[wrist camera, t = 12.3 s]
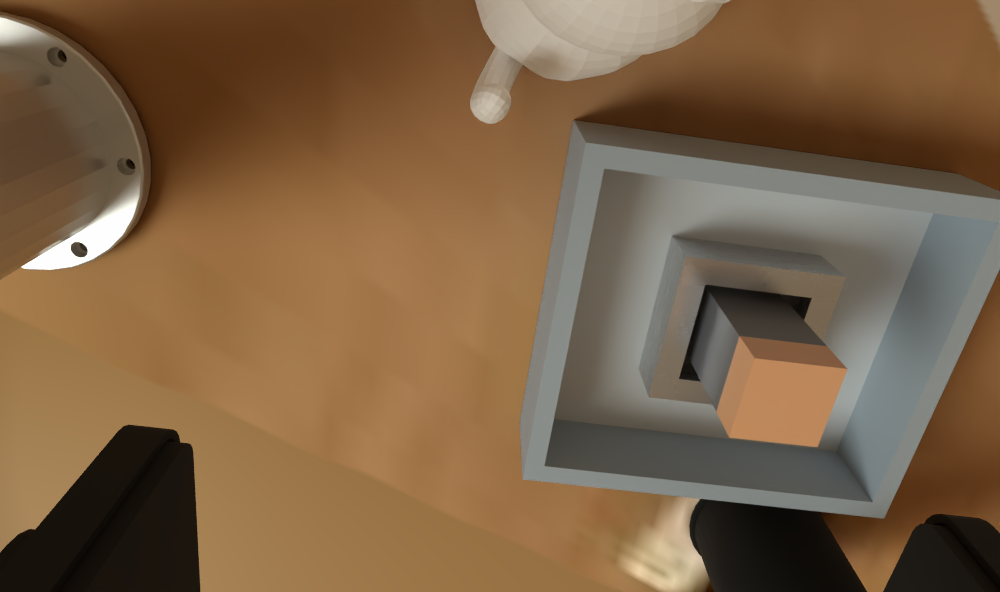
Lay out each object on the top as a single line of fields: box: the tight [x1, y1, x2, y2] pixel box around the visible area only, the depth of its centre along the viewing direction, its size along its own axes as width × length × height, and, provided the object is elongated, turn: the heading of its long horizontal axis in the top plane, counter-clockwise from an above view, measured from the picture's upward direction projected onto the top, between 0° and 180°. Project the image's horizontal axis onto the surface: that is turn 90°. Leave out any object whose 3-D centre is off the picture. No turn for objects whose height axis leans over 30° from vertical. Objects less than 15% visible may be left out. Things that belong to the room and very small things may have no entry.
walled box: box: [520, 120, 1000, 519], centre depth 37 cm, size 20×18×5 cm
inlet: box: [638, 236, 846, 405], centre depth 37 cm, size 8×8×3 cm
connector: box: [686, 284, 847, 447], centre depth 34 cm, size 4×4×9 cm
